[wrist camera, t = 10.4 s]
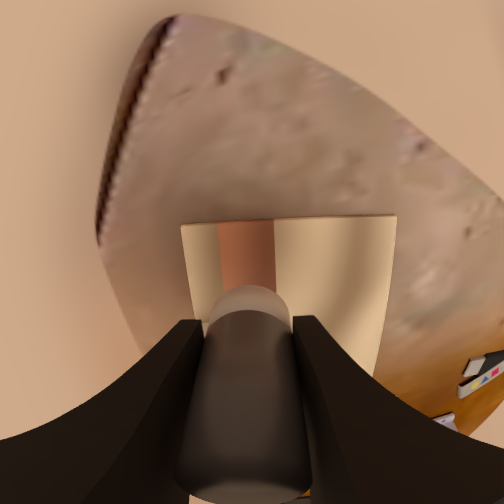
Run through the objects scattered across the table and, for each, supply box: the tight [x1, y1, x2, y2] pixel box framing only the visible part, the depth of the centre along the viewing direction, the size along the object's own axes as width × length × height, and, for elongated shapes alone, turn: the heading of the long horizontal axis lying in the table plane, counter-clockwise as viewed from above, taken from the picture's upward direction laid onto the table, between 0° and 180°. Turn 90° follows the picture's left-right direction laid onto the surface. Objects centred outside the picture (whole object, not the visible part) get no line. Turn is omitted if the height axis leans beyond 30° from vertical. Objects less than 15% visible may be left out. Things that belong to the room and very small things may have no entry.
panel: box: [180, 215, 397, 377], centre depth 19 cm, size 12×15×1 cm
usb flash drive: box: [457, 350, 504, 398], centre depth 21 cm, size 9×5×1 cm, turn 87°
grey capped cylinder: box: [173, 285, 313, 504], centre depth 7 cm, size 3×3×6 cm
